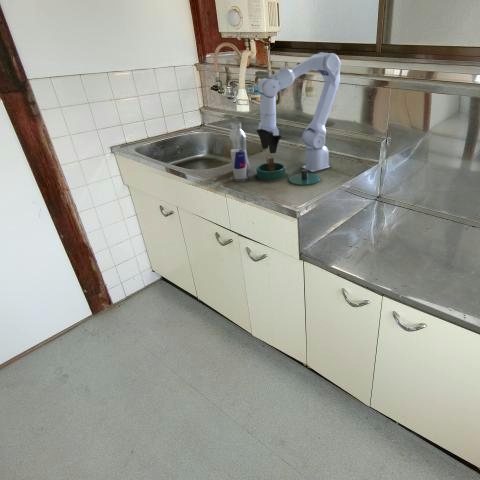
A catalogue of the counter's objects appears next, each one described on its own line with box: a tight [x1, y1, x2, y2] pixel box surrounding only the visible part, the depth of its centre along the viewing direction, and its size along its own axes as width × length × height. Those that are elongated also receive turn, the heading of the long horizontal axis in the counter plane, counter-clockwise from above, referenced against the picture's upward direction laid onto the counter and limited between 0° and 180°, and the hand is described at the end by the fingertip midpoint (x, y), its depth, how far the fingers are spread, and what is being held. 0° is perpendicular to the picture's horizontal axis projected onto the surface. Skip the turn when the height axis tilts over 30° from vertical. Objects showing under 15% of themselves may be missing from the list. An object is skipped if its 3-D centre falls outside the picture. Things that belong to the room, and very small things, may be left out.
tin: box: [256, 162, 286, 181], centre depth 145 cm, size 11×11×4 cm
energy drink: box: [230, 148, 249, 182], centre depth 140 cm, size 5×5×12 cm
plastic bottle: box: [229, 121, 251, 172], centre depth 146 cm, size 6×7×20 cm
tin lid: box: [288, 168, 321, 187], centre depth 140 cm, size 12×12×4 cm
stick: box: [265, 156, 275, 171], centre depth 144 cm, size 2×2×8 cm
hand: (269, 150), depth 140 cm, fingers open, 7 cm apart
